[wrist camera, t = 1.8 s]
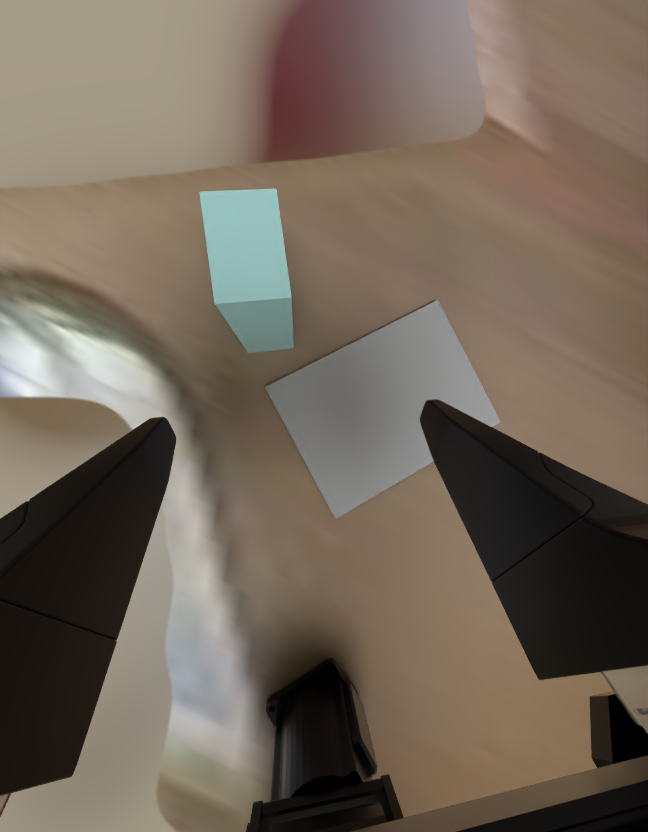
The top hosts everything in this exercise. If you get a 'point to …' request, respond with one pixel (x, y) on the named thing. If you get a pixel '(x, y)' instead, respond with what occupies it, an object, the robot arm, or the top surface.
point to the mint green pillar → (249, 266)
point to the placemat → (377, 405)
